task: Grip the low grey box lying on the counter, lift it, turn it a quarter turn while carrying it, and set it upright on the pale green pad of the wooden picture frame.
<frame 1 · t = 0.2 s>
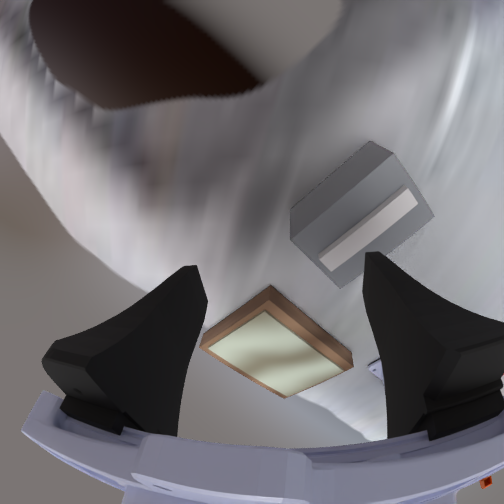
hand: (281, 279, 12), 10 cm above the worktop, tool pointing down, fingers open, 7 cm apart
grey box: (350, 198, 20), on the worktop
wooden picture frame: (279, 345, 28), on the worktop
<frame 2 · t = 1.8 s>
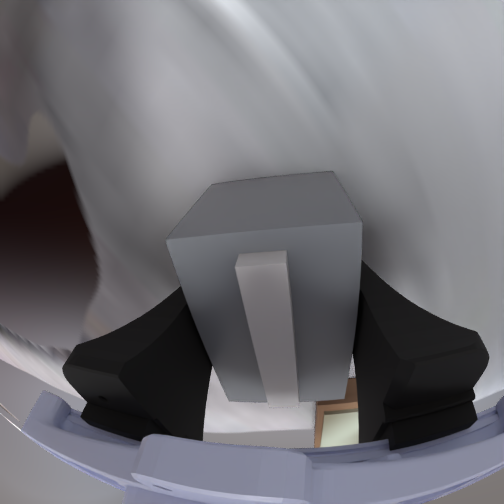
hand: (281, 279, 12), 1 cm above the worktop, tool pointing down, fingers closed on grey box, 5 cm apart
grey box: (282, 261, 13), on the worktop, touching gripper
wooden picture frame: (390, 403, 19), on the worktop
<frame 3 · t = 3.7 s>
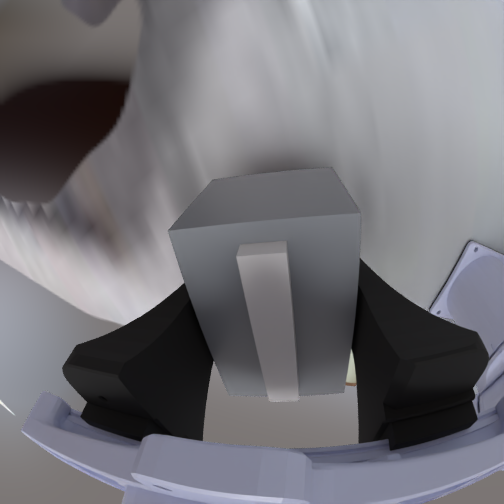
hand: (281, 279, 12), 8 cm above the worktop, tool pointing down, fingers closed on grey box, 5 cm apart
grey box: (282, 256, 13), point 7 cm above the worktop, touching gripper
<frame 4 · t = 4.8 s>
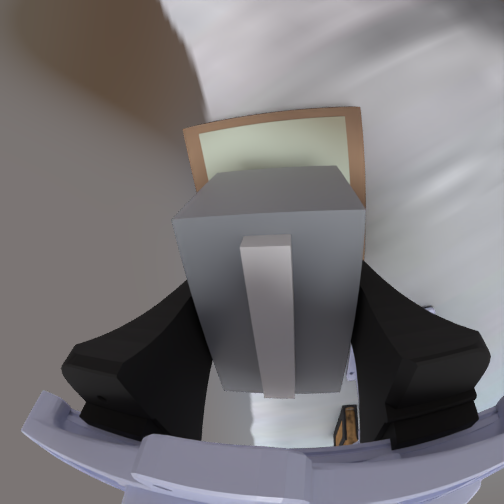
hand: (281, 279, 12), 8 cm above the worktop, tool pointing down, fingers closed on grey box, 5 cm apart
grey box: (282, 252, 13), point 6 cm above the worktop, touching gripper
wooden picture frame: (285, 209, 18), on the worktop
ammunition clip: (343, 420, 33), on the worktop
when the fingers open (5 cm above the worktop, at t = 5.8 s): grey box stays where it is, resting on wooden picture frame.
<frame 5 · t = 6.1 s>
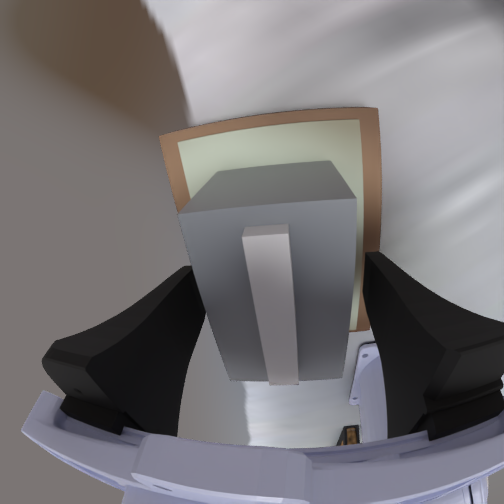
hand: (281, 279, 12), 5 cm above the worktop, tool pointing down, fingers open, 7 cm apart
grey box: (282, 245, 14), point 2 cm above the worktop, touching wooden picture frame
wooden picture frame: (284, 230, 16), on the worktop
ammunition clip: (344, 438, 30), on the worktop
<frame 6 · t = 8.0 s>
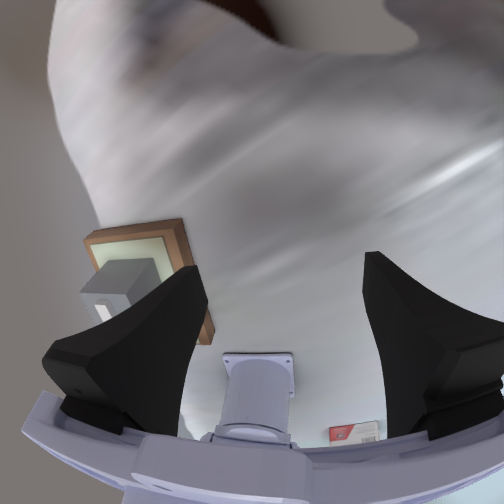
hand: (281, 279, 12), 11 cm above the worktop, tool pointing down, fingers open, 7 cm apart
grey box: (143, 295, 25), point 2 cm above the worktop, touching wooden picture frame
ink cartridge box: (353, 428, 39), on the worktop
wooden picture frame: (153, 283, 27), on the worktop
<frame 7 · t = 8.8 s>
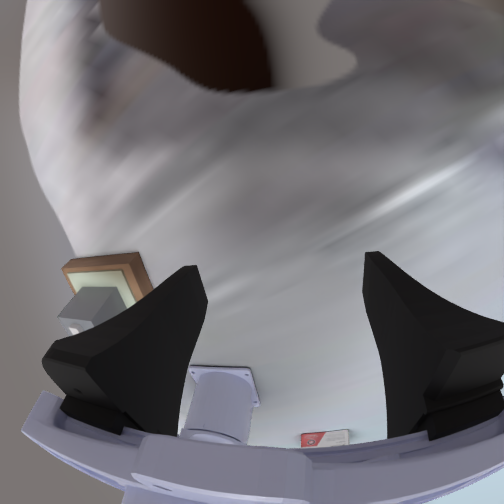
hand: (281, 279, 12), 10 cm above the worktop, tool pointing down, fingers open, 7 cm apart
grey box: (113, 316, 27), point 2 cm above the worktop, touching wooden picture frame
ink cartridge box: (325, 435, 41), on the worktop
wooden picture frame: (123, 305, 29), on the worktop
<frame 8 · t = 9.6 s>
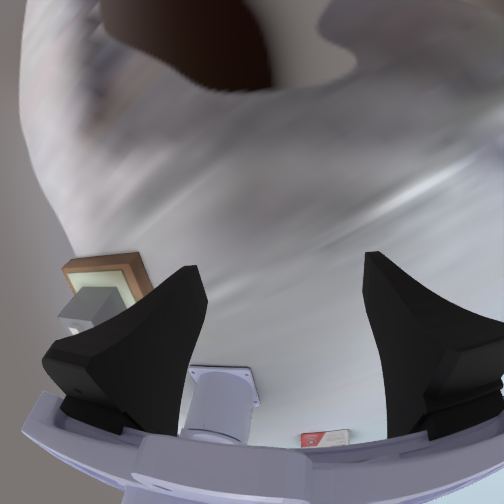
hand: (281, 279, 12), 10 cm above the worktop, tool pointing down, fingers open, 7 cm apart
grey box: (113, 316, 27), point 2 cm above the worktop, touching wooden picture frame
ink cartridge box: (325, 435, 41), on the worktop
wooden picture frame: (123, 305, 29), on the worktop
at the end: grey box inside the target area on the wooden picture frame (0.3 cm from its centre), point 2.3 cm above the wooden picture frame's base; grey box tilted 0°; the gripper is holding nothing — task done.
